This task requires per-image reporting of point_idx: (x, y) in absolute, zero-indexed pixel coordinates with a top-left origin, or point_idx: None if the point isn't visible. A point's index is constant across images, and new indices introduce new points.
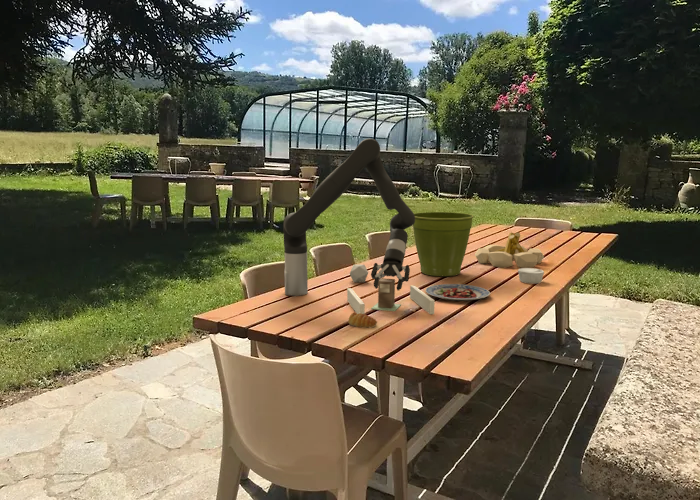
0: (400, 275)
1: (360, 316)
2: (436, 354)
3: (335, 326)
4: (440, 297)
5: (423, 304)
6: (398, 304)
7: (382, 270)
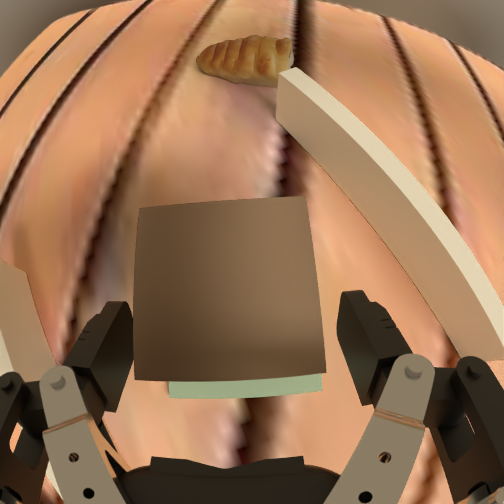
0: (51, 409)
1: (250, 37)
2: (70, 37)
3: (315, 46)
4: None
5: (39, 356)
6: (181, 389)
7: (381, 468)
